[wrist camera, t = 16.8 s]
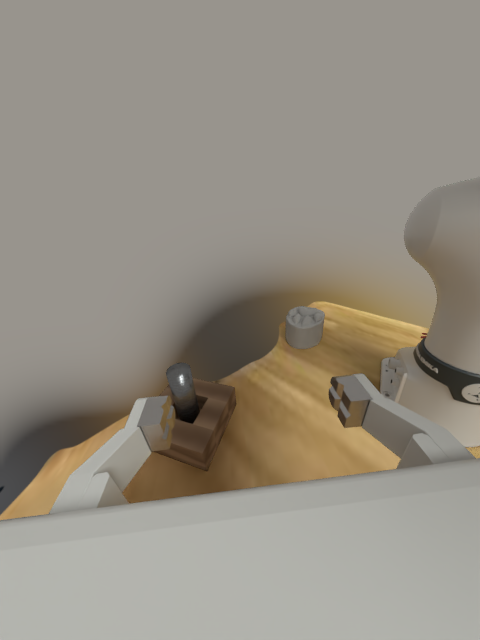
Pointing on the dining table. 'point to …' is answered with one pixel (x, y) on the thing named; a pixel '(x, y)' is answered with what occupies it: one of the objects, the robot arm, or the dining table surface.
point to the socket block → (201, 424)
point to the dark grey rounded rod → (183, 392)
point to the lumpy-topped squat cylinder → (304, 327)
